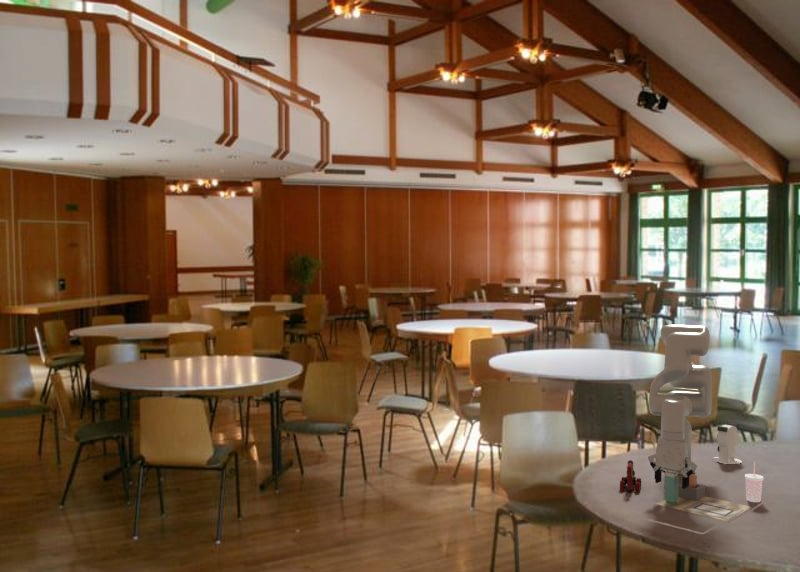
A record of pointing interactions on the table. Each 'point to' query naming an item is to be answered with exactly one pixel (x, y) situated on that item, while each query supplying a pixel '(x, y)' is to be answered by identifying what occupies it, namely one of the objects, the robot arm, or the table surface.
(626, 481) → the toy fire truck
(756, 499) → the beverage cup
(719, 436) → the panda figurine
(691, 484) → the button
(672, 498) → the green and white block
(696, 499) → the button housing
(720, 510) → the board
